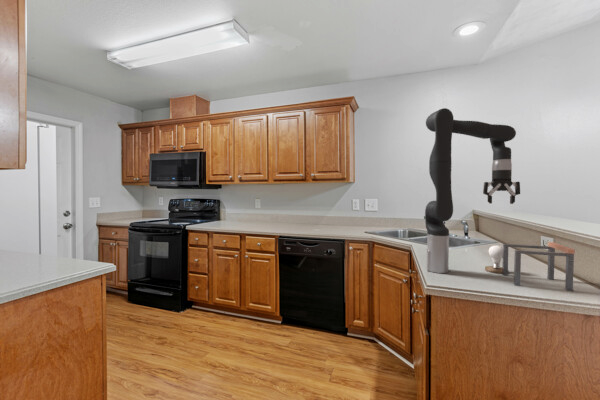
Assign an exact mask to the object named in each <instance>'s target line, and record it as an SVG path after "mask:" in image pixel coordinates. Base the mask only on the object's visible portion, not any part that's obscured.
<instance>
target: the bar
mask: <svg viewBox="0 0 600 400" xmlns="http://www.w3.org/2000/svg"><path fill="white" fill-rule="evenodd" d="M547 246H550V247H552V248H555V250H557V251H560V252H562V253H569V254H574V255H575V252H576V251H575V249H574V248H571V247H568V246H565V245H562V244H559V243H557V242H552V241H548V242H547Z"/></svg>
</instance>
